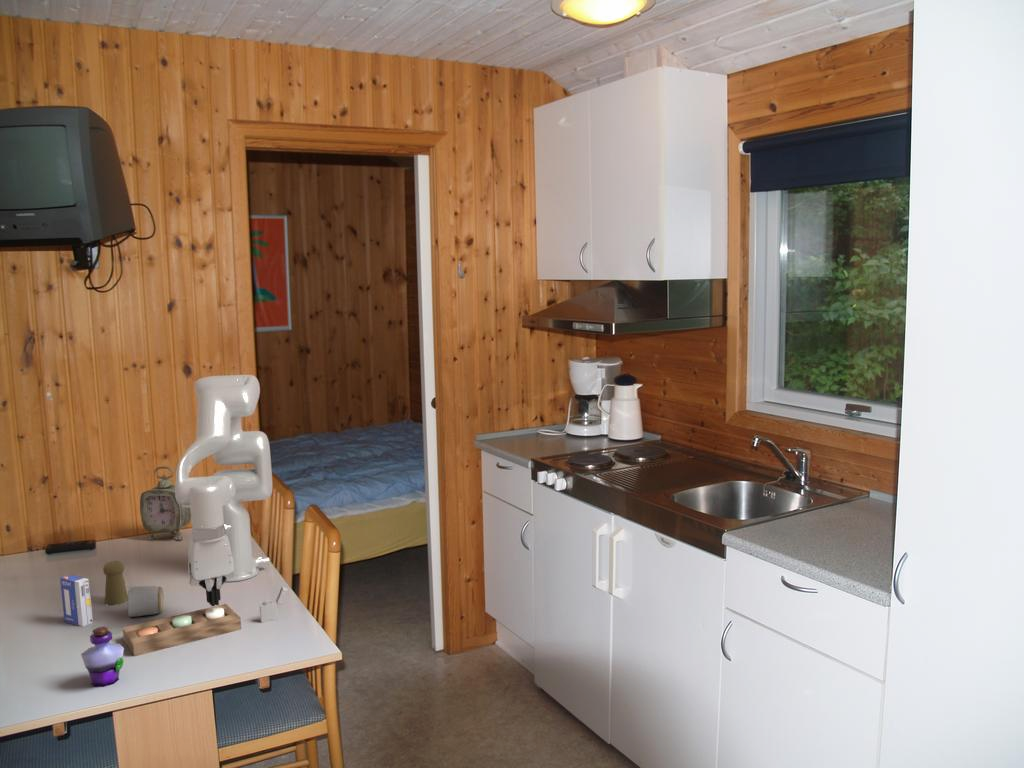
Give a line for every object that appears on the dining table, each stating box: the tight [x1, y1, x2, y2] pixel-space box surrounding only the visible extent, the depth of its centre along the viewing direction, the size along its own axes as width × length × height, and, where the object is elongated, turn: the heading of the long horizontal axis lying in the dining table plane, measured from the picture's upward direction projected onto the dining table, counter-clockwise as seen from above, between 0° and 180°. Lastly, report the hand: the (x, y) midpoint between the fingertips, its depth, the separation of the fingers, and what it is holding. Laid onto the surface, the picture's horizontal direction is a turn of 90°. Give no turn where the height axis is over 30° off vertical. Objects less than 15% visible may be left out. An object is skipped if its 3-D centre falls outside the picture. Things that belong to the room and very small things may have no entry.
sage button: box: [172, 615, 192, 628], centre depth 217 cm, size 4×4×2 cm
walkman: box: [59, 574, 94, 627], centre depth 227 cm, size 8×3×12 cm, turn 60°
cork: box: [102, 560, 128, 606], centre depth 241 cm, size 6×6×11 cm
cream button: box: [206, 608, 224, 620], centre depth 221 cm, size 4×4×2 cm
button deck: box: [122, 603, 242, 657], centre depth 217 cm, size 25×12×3 cm, turn 125°
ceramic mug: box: [127, 585, 165, 618], centre depth 233 cm, size 11×8×8 cm
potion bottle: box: [80, 626, 125, 688], centre depth 192 cm, size 9×9×12 cm
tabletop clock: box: [139, 465, 192, 541], centre depth 300 cm, size 14×9×25 cm, turn 81°
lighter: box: [258, 586, 289, 624], centre depth 225 cm, size 7×2×8 cm, turn 115°
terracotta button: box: [138, 627, 158, 637], centre depth 213 cm, size 4×4×2 cm
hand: (213, 604), depth 221 cm, fingers closed
